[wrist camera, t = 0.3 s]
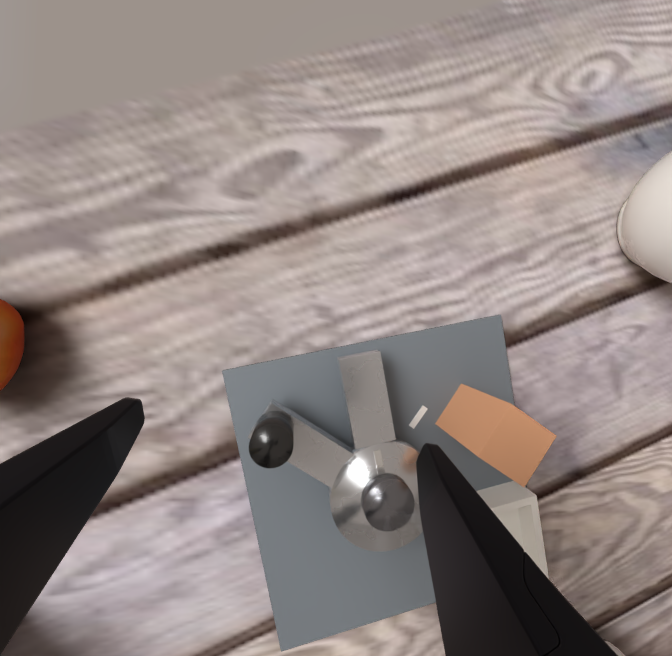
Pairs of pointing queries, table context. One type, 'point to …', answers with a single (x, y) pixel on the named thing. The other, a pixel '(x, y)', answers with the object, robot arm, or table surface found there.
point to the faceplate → (331, 416)
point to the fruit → (10, 342)
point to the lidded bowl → (649, 221)
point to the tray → (519, 517)
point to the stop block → (496, 432)
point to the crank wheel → (351, 458)
